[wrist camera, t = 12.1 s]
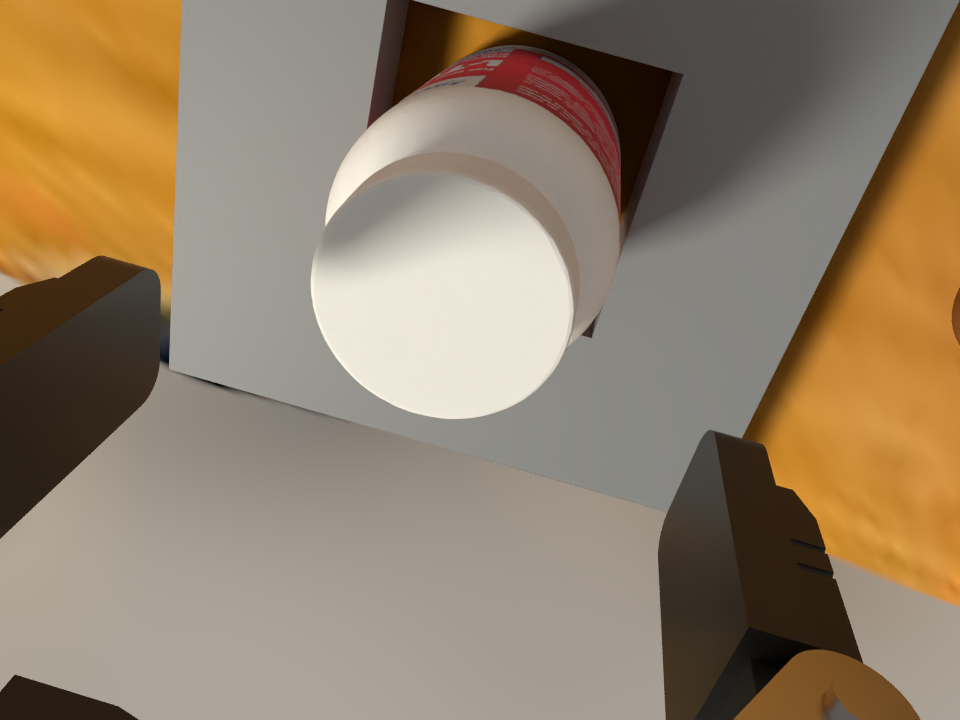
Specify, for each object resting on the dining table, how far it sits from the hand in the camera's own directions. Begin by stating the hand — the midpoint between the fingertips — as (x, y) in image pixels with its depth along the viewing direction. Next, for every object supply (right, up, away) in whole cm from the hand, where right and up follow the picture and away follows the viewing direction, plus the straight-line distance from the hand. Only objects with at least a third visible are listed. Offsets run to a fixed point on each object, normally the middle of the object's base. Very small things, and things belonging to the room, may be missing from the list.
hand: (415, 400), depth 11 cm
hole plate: (+2, +7, +12) cm, 14 cm away
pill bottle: (+2, +7, +12) cm, 14 cm away
